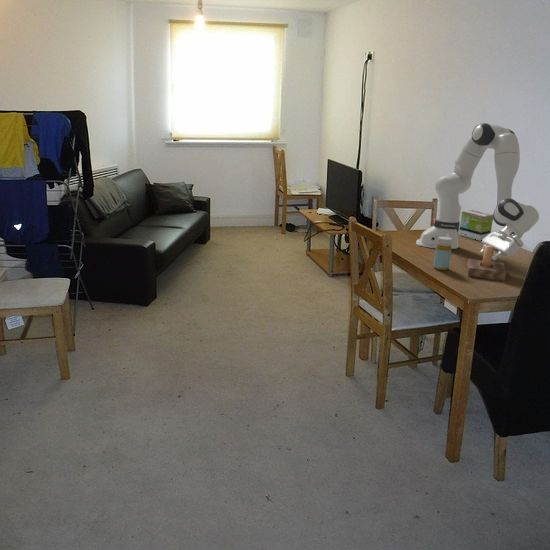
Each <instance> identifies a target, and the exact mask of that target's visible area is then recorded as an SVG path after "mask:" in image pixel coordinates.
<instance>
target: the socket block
mask: <svg viewBox="0 0 550 550" xmlns="http://www.w3.org/2000/svg"><path fill="white" fill-rule="evenodd" d="M482 261H483V259H474V258H468V259H467V263H466V273H467V274H468V276H467V277H470V276H474V277H473V278H478V277H481V278H480V279H486V278H490V279H489V280H494V279H499V280H498V281H502V280H505V281H506V276H507V270H506V267H505V263H504V262H502V261H494V260H492V263H491V267H483V266H482Z"/></svg>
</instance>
